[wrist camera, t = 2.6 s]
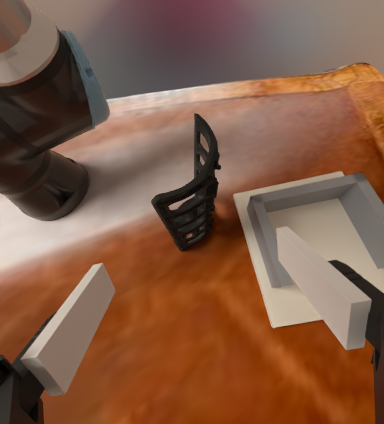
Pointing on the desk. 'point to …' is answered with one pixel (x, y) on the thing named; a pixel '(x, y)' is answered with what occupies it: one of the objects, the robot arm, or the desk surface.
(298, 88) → the desk surface
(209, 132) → the holder
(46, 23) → the robot arm
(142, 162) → the desk surface
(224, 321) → the desk surface
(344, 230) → the bay
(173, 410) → the desk surface
